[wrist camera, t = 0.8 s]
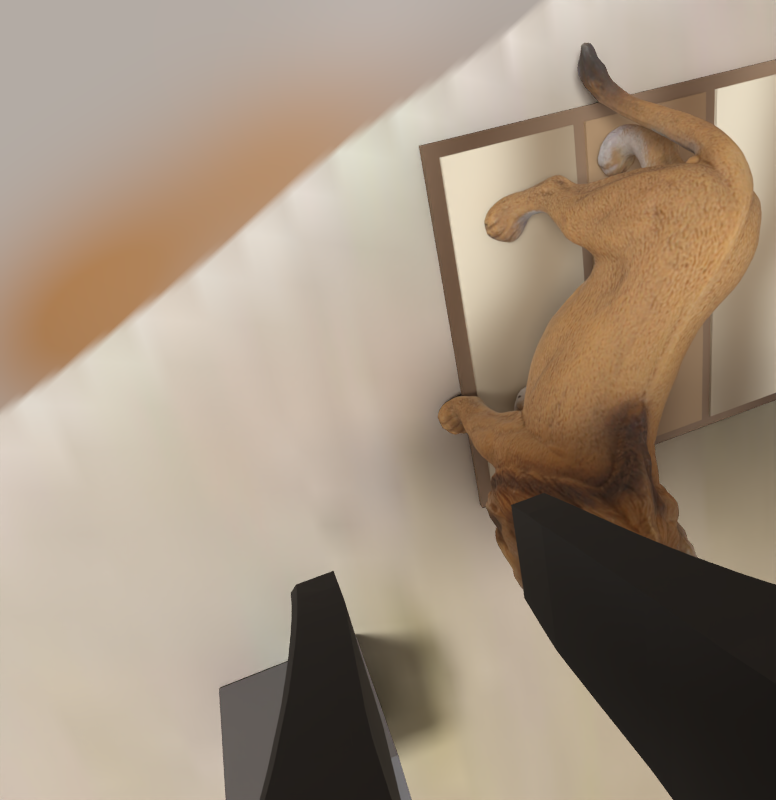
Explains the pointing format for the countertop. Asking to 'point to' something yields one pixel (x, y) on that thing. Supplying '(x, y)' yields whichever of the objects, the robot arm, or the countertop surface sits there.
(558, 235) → the brown framed panel
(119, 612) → the countertop surface
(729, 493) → the countertop surface
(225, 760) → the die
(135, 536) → the countertop surface
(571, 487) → the lion figurine
